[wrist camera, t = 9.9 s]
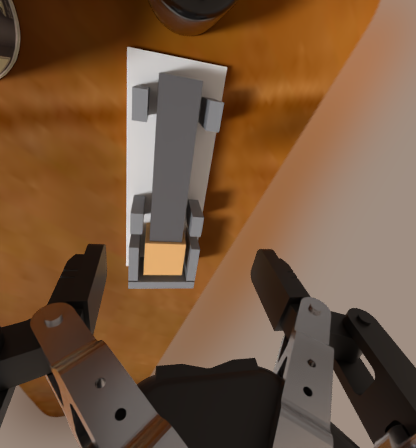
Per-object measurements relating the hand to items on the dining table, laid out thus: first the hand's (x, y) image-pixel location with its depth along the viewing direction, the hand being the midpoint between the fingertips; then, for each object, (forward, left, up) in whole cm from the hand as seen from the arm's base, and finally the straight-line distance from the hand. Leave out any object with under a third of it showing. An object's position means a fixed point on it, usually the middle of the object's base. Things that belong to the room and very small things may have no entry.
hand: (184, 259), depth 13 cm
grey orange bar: (+2, 0, -17) cm, 17 cm away
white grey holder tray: (+2, 0, -17) cm, 17 cm away
